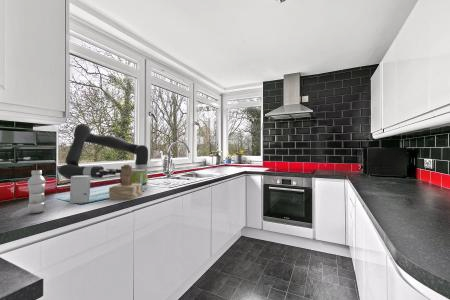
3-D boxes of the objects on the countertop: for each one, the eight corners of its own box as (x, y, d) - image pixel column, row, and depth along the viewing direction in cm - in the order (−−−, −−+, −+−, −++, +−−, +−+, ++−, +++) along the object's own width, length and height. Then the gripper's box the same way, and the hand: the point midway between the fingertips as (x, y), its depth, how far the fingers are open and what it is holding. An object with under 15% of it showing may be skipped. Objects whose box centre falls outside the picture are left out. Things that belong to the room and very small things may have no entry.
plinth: (121, 194, 135) (121, 183, 135) (142, 194, 135) (142, 183, 135) (109, 199, 121) (109, 187, 121) (132, 199, 121) (132, 187, 121)
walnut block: (124, 184, 130) (124, 164, 130) (131, 184, 130) (131, 164, 130) (121, 185, 126) (121, 165, 126) (128, 185, 126) (128, 165, 126)
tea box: (146, 189, 153) (146, 169, 153) (140, 191, 143) (139, 170, 143) (127, 188, 154) (127, 169, 154) (119, 191, 144) (119, 170, 144)
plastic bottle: (44, 209, 100) (44, 169, 100) (47, 212, 96) (47, 170, 96) (26, 213, 95) (26, 170, 95) (28, 216, 91) (28, 171, 91)
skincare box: (69, 203, 112) (69, 176, 112) (74, 201, 117) (73, 175, 117) (87, 202, 114) (87, 176, 114) (90, 200, 120) (90, 174, 120)
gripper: (86, 167, 121) (112, 167, 121) (100, 165, 136) (125, 165, 135) (86, 179, 121) (113, 179, 121) (100, 176, 136) (125, 176, 135)
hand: (119, 172), depth 128 cm, fingers open, 8 cm apart
